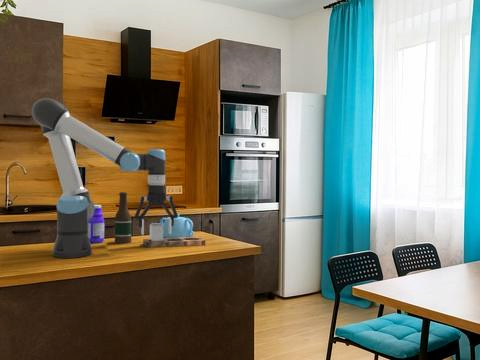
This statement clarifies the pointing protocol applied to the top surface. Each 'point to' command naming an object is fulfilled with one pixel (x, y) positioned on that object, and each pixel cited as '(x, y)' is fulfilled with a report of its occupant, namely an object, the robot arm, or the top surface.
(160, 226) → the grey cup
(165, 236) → the teapot
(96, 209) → the bottle
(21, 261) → the top surface
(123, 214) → the beer bottle
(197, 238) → the brown wooden board
